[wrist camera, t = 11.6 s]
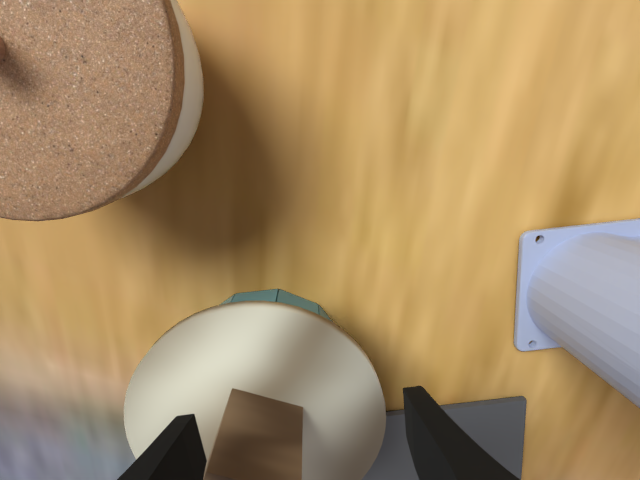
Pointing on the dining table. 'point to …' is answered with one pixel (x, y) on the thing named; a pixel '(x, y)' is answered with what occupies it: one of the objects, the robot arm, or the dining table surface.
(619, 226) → the robot arm
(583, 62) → the dining table surface
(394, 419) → the mat
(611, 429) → the dining table surface
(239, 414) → the lid
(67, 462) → the dining table surface
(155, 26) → the lidded jar
